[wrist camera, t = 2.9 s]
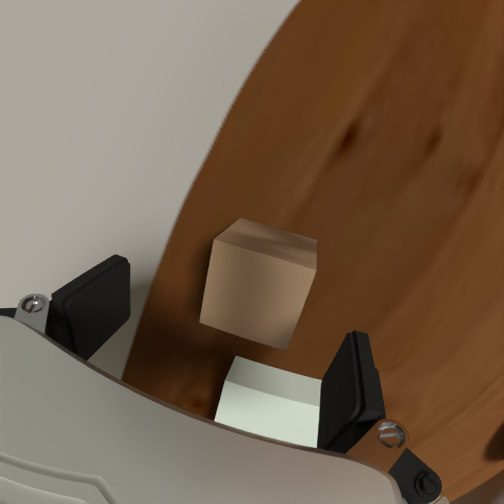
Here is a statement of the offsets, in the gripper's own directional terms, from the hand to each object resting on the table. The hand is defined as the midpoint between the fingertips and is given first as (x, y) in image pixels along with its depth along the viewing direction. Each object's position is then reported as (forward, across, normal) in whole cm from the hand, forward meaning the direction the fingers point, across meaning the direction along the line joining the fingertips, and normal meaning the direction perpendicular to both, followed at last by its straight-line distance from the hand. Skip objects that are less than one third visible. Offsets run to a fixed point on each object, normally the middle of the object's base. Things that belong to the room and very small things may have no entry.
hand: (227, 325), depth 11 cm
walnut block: (+8, 0, +1) cm, 8 cm away
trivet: (+8, -6, +15) cm, 17 cm away
